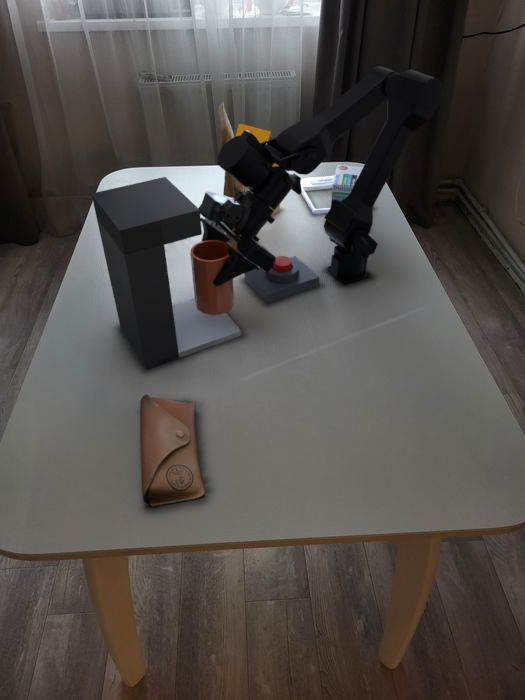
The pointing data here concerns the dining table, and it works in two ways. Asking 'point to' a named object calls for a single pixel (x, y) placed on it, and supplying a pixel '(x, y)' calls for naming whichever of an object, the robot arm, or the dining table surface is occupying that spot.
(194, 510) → the dining table surface
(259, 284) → the pad
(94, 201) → the coffee maker
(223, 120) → the pancake mix bag
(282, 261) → the button
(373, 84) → the robot arm
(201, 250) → the tumbler
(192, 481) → the sunglasses case
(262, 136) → the orange juice
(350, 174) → the light bulb box
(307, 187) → the photo frame
